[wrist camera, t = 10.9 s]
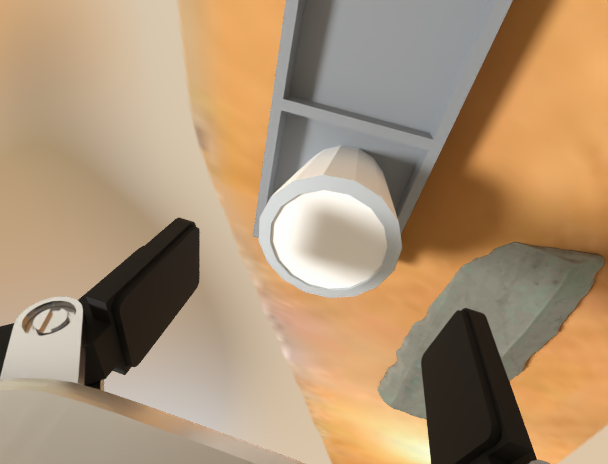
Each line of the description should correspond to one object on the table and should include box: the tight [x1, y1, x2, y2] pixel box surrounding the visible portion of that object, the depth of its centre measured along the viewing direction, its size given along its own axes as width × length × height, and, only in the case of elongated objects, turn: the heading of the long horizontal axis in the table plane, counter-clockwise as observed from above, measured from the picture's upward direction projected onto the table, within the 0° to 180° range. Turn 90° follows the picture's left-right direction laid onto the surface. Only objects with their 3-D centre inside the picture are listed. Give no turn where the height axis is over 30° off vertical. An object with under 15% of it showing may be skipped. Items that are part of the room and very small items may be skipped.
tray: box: [253, 0, 513, 238], centre depth 17 cm, size 10×19×2 cm, turn 168°
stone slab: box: [378, 242, 605, 419], centre depth 26 cm, size 22×3×10 cm
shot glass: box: [259, 146, 402, 298], centre depth 17 cm, size 7×7×7 cm
